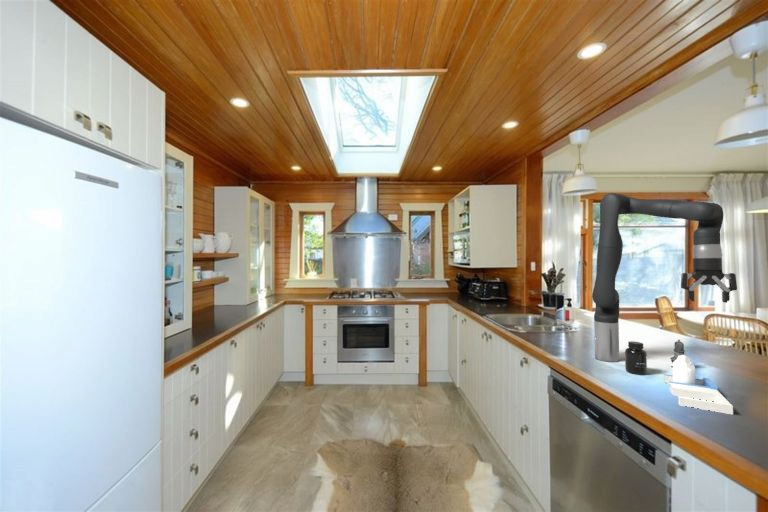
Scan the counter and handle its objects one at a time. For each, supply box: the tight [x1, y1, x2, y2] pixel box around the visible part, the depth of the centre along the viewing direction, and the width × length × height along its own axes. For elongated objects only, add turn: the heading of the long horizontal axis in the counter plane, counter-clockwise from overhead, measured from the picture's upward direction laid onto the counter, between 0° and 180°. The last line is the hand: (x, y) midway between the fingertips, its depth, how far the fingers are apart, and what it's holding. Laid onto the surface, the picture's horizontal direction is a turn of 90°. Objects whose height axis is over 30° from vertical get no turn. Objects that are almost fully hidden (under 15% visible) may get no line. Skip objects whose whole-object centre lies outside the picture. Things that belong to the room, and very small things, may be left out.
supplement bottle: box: [624, 341, 648, 376], centre depth 131 cm, size 7×7×12 cm
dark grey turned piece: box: [669, 339, 686, 369], centre depth 135 cm, size 6×6×12 cm
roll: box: [672, 354, 696, 385], centre depth 114 cm, size 6×12×6 cm
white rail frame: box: [663, 374, 734, 415], centre depth 108 cm, size 12×23×4 cm, turn 148°
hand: (708, 301), depth 117 cm, fingers open, 8 cm apart
